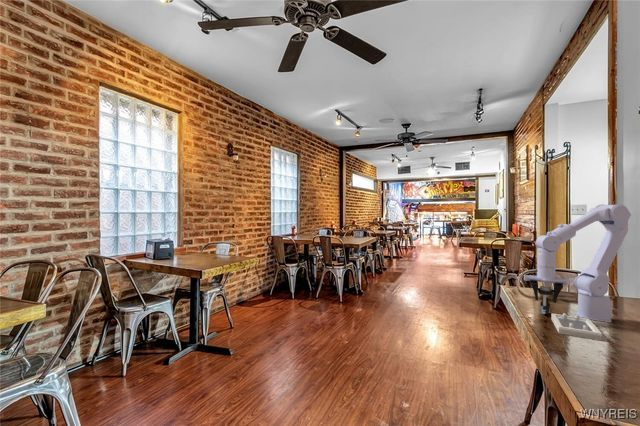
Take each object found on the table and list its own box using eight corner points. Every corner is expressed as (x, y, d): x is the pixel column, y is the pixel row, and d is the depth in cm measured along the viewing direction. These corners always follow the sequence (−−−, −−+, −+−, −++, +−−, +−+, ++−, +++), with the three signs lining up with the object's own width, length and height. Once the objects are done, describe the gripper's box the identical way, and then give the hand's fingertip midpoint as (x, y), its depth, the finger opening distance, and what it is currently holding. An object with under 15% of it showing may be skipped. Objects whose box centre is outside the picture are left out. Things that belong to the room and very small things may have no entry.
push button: (551, 316, 122) (552, 290, 122) (534, 313, 126) (535, 287, 126) (554, 312, 127) (555, 287, 127) (538, 309, 131) (538, 284, 130)
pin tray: (588, 324, 116) (589, 315, 116) (601, 340, 102) (602, 330, 102) (551, 319, 121) (551, 310, 121) (558, 333, 107) (559, 323, 107)
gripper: (525, 265, 126) (524, 300, 126) (571, 270, 119) (570, 306, 119) (523, 263, 132) (522, 296, 132) (568, 267, 125) (566, 301, 126)
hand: (545, 301), depth 126 cm, fingers closed on push button, 5 cm apart
